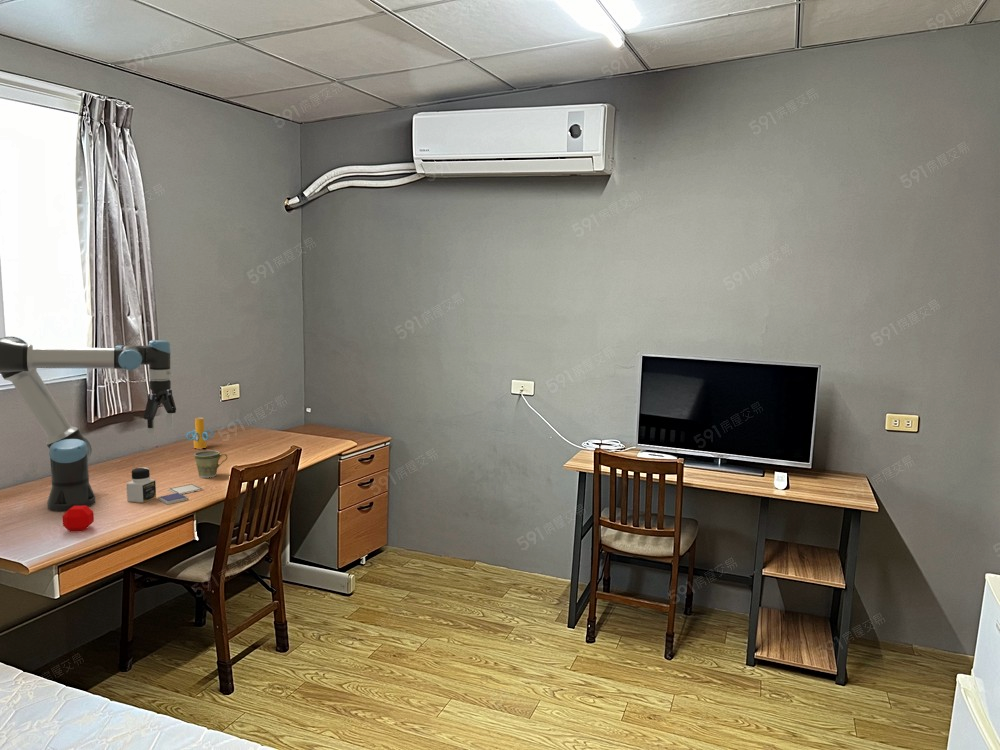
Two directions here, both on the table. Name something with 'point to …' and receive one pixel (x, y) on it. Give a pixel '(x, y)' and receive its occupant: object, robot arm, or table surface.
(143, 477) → the medicine bottle
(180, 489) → the print card
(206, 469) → the ceramic cup
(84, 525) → the ball
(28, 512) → the table surface
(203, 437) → the cylinder
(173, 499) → the ink pad
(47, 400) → the robot arm
